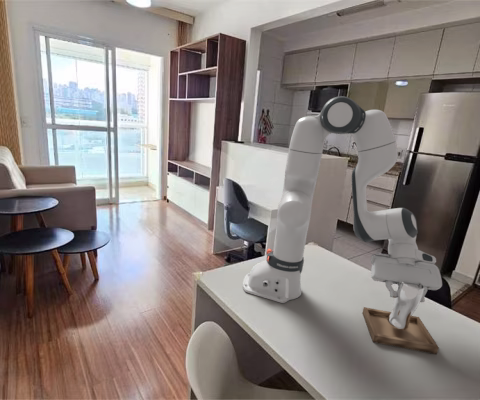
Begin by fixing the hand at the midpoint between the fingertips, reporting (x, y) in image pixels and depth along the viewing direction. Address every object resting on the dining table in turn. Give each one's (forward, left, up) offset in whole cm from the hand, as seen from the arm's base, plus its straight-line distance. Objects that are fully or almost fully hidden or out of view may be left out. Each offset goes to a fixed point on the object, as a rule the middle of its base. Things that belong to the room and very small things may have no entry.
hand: (407, 299), depth 90 cm
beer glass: (-1, 0, -10) cm, 10 cm away
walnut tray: (0, +1, -13) cm, 13 cm away
